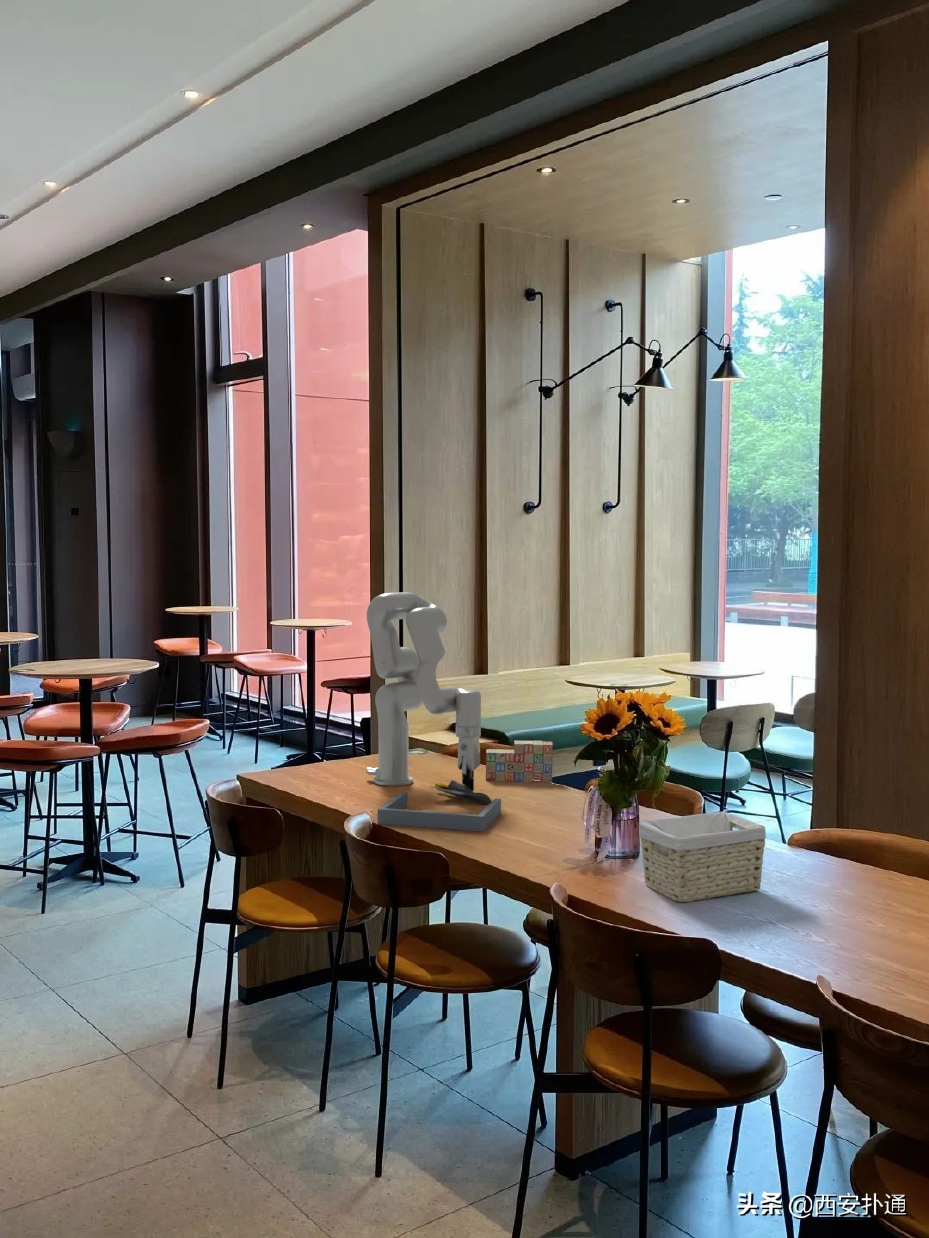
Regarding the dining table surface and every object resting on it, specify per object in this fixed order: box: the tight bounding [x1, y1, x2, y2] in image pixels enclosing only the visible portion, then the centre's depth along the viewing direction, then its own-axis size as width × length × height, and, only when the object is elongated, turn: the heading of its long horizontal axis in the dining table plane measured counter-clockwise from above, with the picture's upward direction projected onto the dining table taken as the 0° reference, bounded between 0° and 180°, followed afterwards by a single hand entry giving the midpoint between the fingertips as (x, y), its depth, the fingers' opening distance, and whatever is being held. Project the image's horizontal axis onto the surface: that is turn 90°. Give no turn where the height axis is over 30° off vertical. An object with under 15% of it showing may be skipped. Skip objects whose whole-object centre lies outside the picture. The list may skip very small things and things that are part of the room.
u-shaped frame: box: [377, 791, 502, 832], centre depth 303 cm, size 29×21×4 cm
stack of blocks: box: [485, 740, 554, 783], centre depth 353 cm, size 21×6×12 cm, turn 87°
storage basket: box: [638, 811, 767, 903], centre depth 242 cm, size 24×16×15 cm
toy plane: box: [430, 779, 493, 806], centre depth 326 cm, size 25×17×5 cm
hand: (467, 791), depth 331 cm, fingers closed
